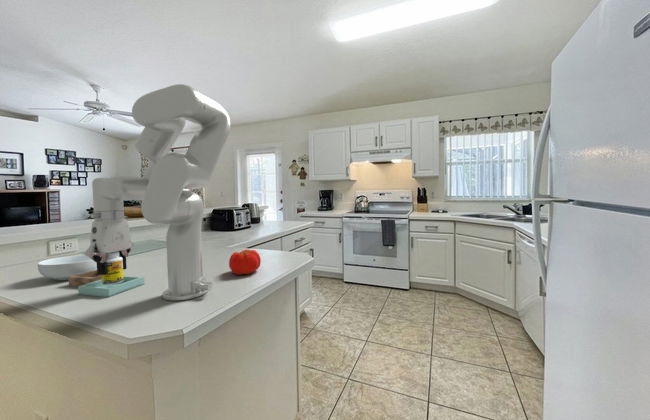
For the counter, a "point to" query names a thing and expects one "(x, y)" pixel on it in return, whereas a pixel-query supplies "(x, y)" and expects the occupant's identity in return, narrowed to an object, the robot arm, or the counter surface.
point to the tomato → (244, 262)
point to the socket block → (84, 278)
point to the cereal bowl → (66, 266)
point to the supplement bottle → (113, 269)
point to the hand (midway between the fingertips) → (112, 271)
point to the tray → (110, 287)
